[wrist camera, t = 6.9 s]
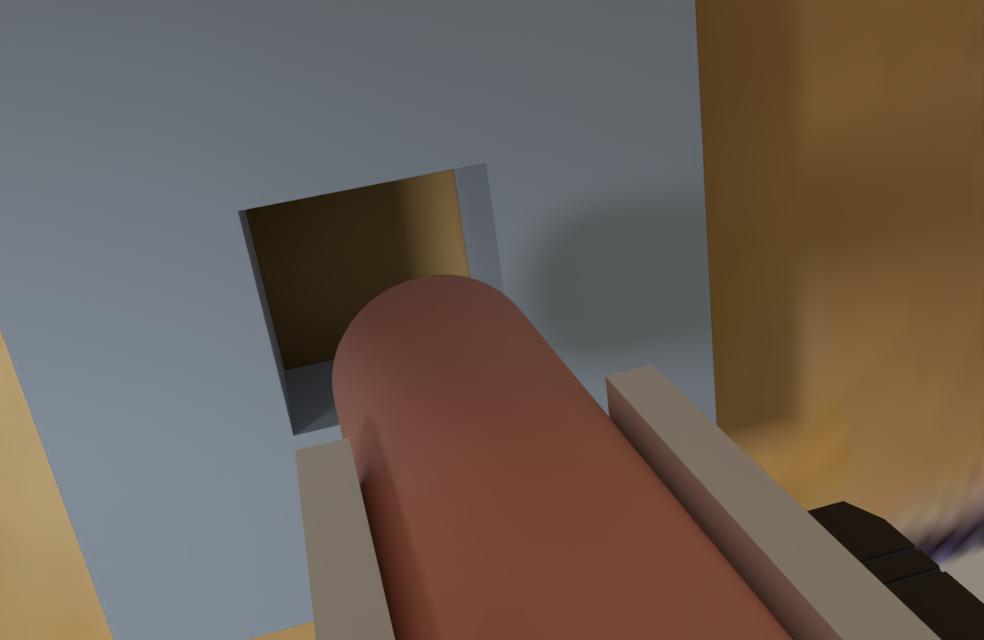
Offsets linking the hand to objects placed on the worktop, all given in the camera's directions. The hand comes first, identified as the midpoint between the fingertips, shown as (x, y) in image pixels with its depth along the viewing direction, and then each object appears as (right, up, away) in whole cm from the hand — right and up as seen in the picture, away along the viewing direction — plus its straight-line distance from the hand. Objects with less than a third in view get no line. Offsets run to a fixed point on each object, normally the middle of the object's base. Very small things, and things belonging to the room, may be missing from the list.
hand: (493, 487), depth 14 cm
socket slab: (-3, +4, +11) cm, 12 cm away
